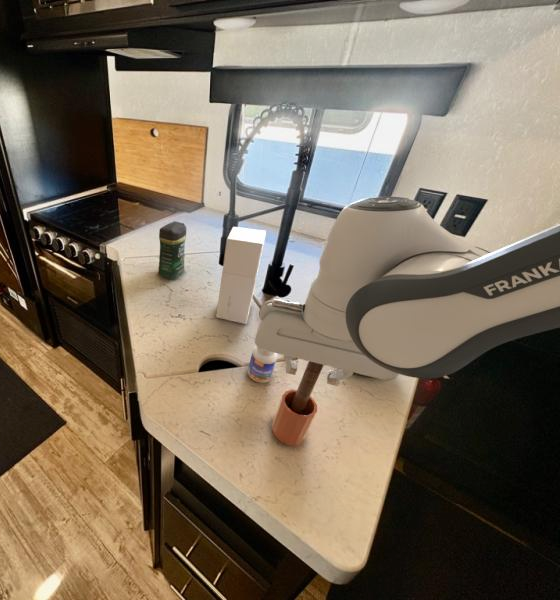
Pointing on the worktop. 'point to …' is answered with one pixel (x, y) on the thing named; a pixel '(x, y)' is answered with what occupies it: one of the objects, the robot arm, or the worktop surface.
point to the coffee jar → (172, 250)
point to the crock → (292, 420)
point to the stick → (306, 387)
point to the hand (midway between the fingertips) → (310, 376)
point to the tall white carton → (239, 273)
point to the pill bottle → (261, 365)
